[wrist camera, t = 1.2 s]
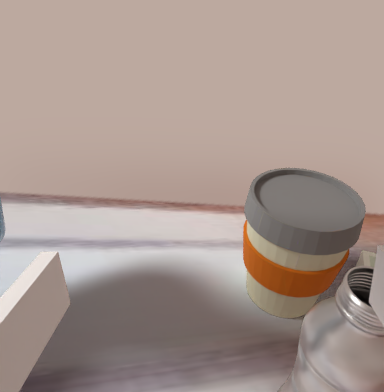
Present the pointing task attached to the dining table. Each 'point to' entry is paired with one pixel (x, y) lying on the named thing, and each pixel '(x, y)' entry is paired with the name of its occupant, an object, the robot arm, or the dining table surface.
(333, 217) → the reusable coffee cup
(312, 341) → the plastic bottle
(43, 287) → the robot arm
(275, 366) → the dining table surface
